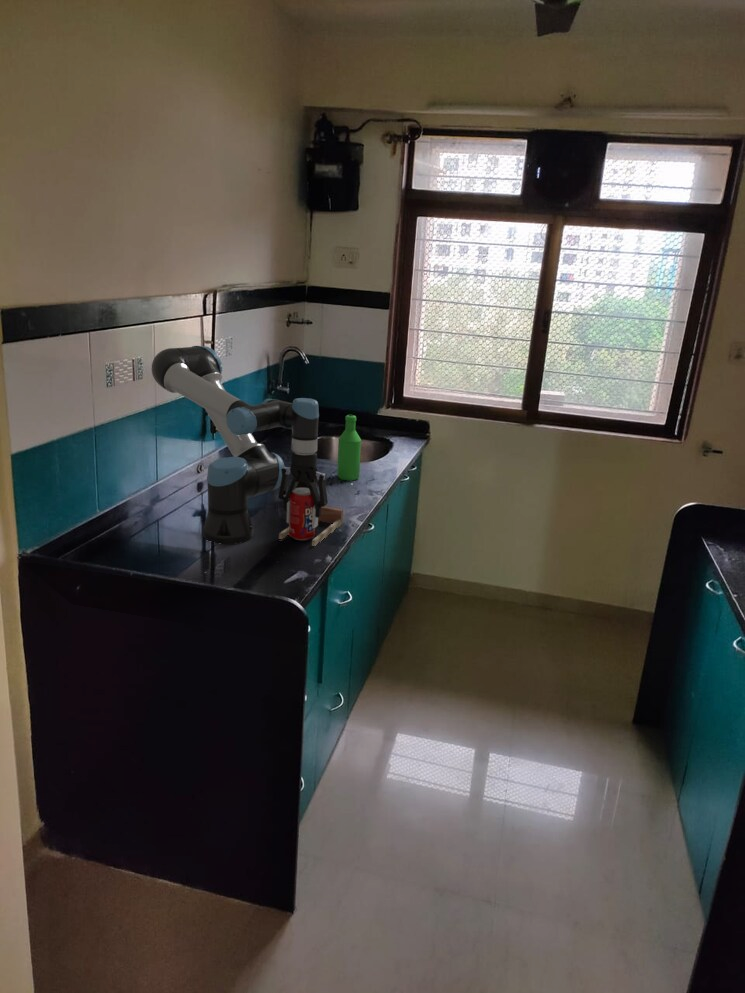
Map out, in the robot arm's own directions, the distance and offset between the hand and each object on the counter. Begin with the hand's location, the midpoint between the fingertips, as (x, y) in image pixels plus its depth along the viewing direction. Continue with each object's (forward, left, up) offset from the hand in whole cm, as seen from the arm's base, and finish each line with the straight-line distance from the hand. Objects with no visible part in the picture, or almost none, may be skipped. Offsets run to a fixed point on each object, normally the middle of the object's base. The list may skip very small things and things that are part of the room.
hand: (302, 524), depth 214 cm
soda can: (0, 0, -4) cm, 4 cm away
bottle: (+55, +38, -5) cm, 67 cm away
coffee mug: (+26, +29, -5) cm, 39 cm away
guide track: (+6, +3, -5) cm, 8 cm away
